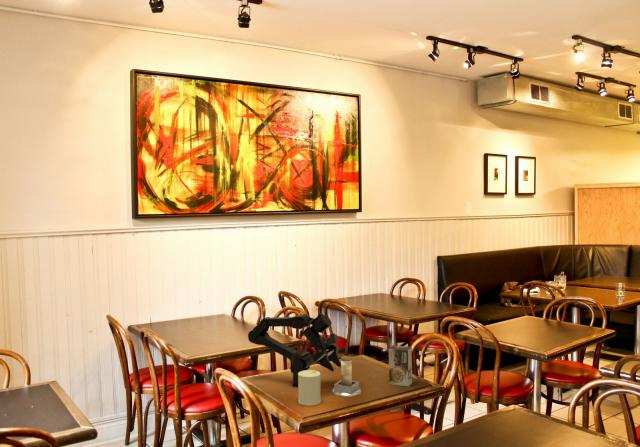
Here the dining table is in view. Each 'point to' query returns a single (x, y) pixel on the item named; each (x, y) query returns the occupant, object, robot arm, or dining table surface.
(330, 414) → the dining table surface
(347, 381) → the cream tall cylinder
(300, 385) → the can
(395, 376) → the coffee box
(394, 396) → the dining table surface
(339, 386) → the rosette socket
